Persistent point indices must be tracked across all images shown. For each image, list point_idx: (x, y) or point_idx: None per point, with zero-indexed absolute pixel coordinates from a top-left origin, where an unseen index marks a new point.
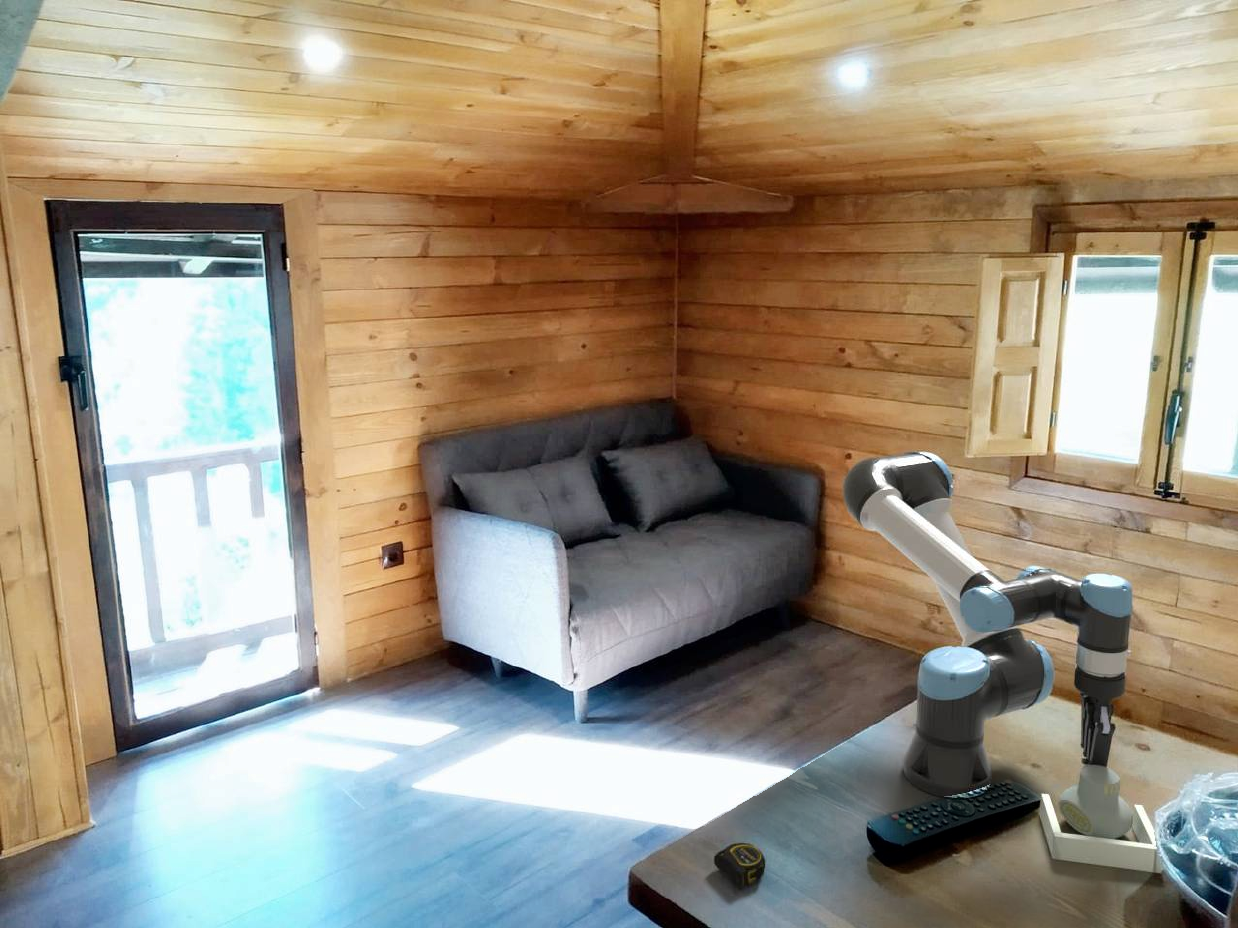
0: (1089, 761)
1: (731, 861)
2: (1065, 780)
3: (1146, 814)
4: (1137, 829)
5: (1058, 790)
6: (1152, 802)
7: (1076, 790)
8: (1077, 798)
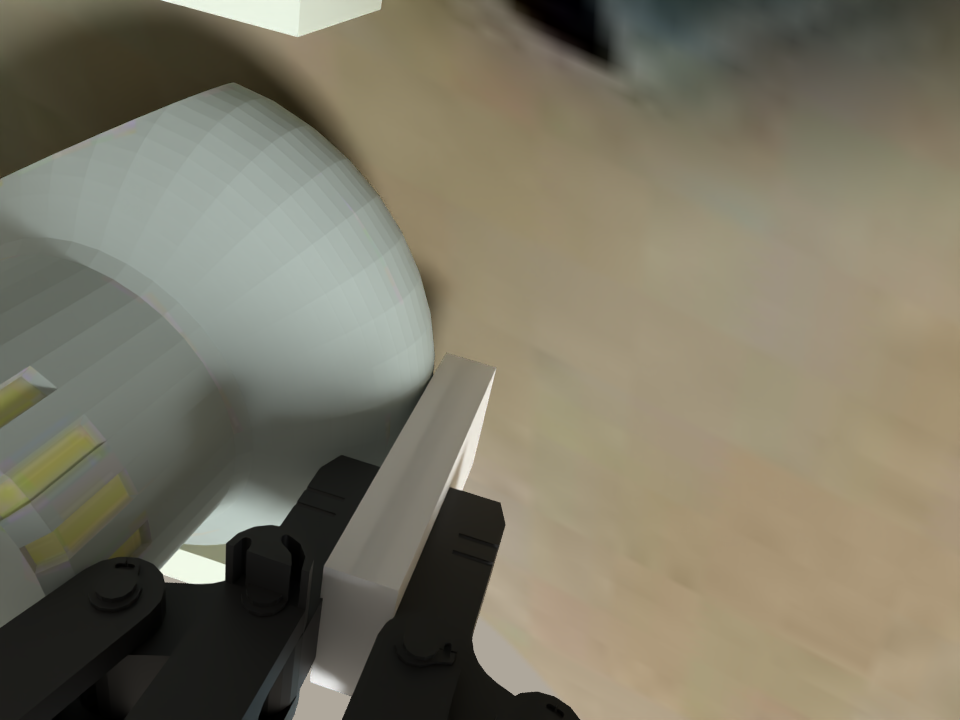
0: (98, 595)
1: None
2: (863, 383)
3: (165, 574)
4: None
5: (732, 267)
6: (548, 669)
7: (145, 275)
8: (43, 224)
